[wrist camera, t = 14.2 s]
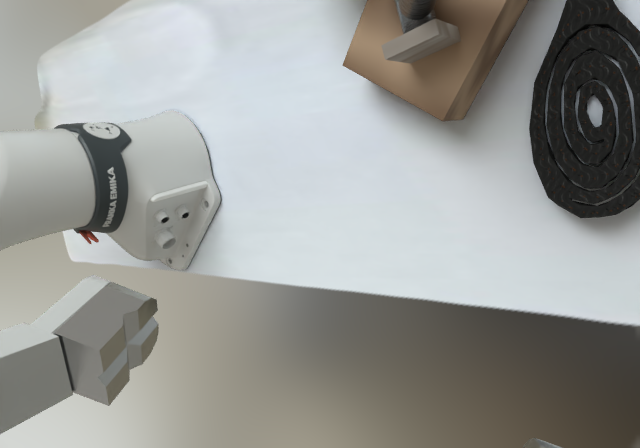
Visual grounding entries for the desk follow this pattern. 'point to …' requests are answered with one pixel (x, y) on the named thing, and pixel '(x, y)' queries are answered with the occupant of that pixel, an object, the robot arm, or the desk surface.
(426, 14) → the lever
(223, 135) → the desk surface
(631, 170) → the hairbrush
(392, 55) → the lever base
